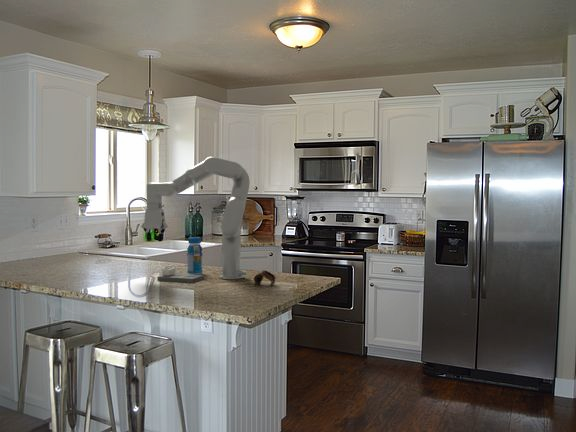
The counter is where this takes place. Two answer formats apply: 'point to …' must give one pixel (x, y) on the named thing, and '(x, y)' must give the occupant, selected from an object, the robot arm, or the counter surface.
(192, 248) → the blue lidded canister
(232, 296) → the counter surface
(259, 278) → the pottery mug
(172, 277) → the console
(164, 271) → the fader knob
